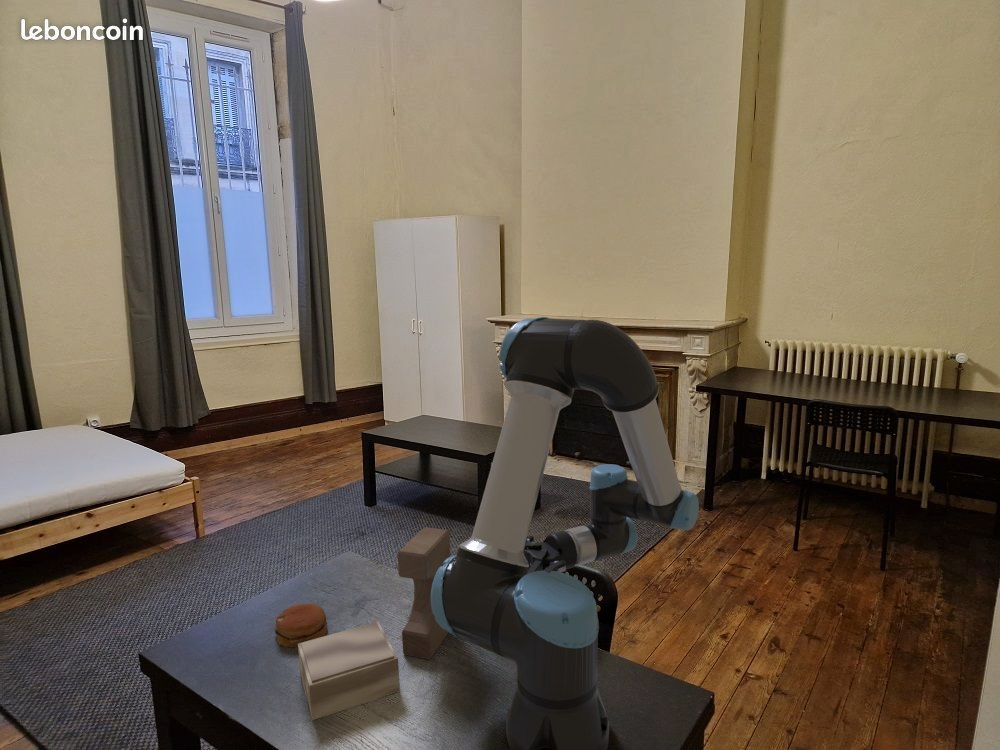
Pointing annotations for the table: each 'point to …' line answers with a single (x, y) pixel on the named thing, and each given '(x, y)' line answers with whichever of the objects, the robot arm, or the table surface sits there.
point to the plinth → (347, 669)
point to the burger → (300, 624)
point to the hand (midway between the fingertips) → (474, 573)
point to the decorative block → (423, 589)
